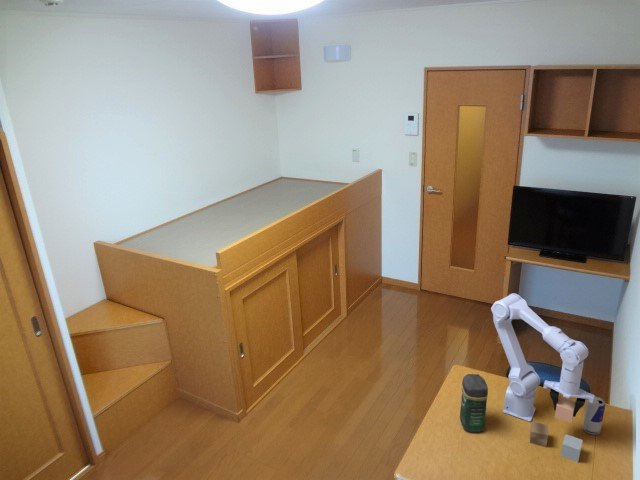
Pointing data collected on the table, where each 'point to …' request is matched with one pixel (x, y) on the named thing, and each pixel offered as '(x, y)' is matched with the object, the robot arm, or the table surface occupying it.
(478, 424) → the coffee jar
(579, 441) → the slate block
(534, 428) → the walnut block
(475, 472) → the table surface
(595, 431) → the energy drink
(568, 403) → the terracotta block
